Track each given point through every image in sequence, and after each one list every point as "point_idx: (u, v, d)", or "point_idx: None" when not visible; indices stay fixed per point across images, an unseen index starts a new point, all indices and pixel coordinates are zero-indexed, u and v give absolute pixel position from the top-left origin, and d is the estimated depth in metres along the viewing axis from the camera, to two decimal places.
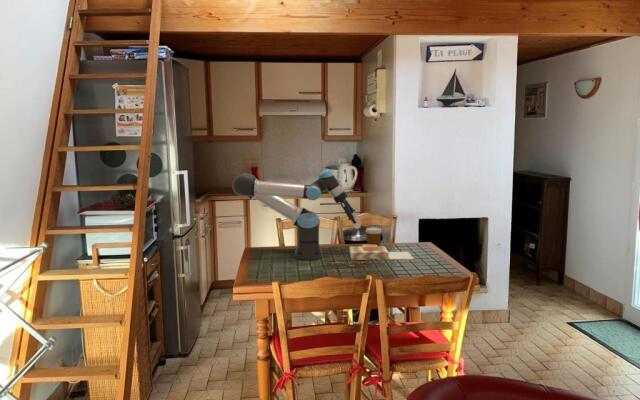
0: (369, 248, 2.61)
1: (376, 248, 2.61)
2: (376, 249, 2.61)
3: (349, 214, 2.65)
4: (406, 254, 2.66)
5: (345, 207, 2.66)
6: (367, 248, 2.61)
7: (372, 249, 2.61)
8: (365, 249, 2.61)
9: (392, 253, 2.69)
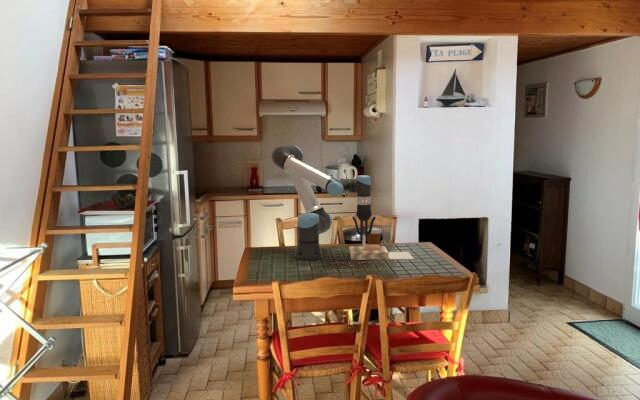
0: (371, 248, 2.61)
1: (378, 248, 2.61)
2: (378, 249, 2.61)
3: None
4: (406, 254, 2.66)
5: (354, 221, 2.62)
6: (369, 248, 2.61)
7: (374, 249, 2.61)
8: (367, 249, 2.61)
9: (392, 253, 2.69)
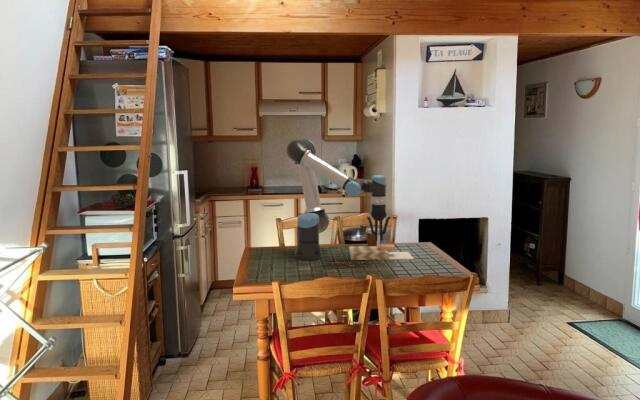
0: (386, 248, 2.61)
1: (393, 248, 2.61)
2: (393, 249, 2.61)
3: (371, 229, 2.62)
4: (406, 254, 2.66)
5: (369, 221, 2.62)
6: (384, 248, 2.61)
7: (389, 249, 2.61)
8: (382, 249, 2.61)
9: (392, 253, 2.69)
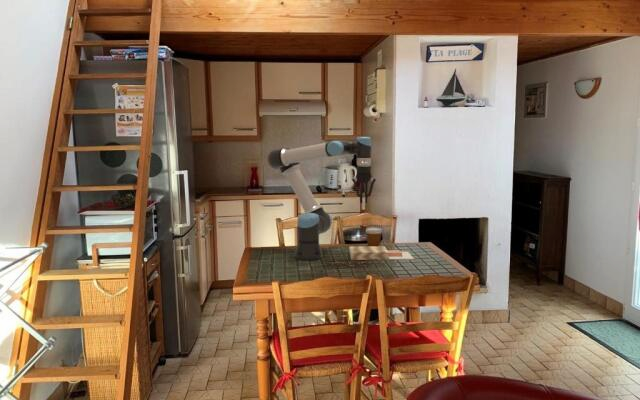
0: (393, 254, 2.62)
1: (400, 254, 2.62)
2: (400, 255, 2.62)
3: (356, 192, 2.59)
4: (406, 254, 2.66)
5: (354, 183, 2.59)
6: (391, 254, 2.62)
7: (396, 255, 2.62)
8: (389, 255, 2.62)
9: None
